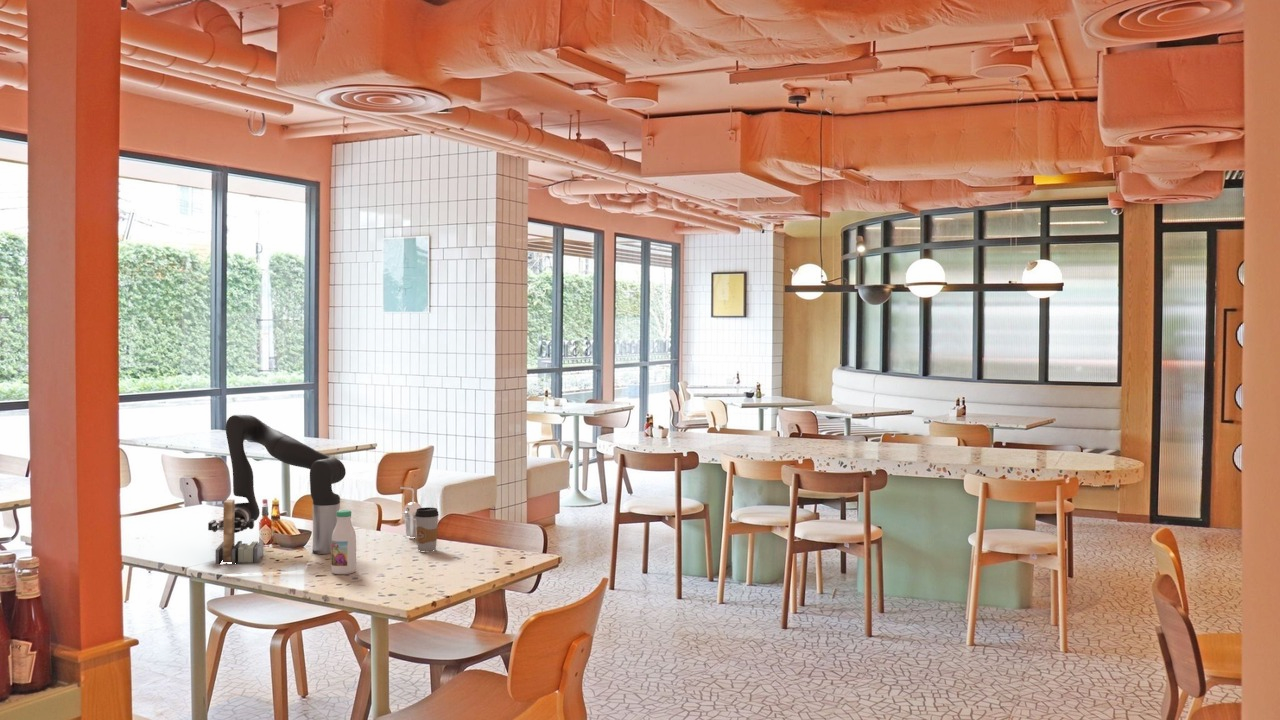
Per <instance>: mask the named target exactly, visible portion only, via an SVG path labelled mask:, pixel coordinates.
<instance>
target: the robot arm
mask: <svg viewBox="0 0 1280 720" xmlns="http://www.w3.org/2000/svg"><path fill="white" fill-rule="evenodd" d="M225 433H226V434H225V435H226V440H227V441H226V442H227V445H228V450H229V455H230V461H231V467H232V468H231V469H232V487H233V488H232V492H233V495H234V496H235V497H241V498H245V499H246V500H247V502H237V503H236V502H235V534H237V533H239V532H240V533H241V532H244V531H245V530H248V528H249V530H253V529H254V527H255V521H257V520H258V519H259V518H260V517H259V516H260V508H259V505H258V502H257V498H256V495H255V489H254V488H255V487H254V485H255V484H254V472H253V468H252V466H251V464H250V461H249V460H248V457H247V455H246V452H245V447H244V441H248V440H249V441H252V442H255V443H257V444H260V445H262V446H264V448H265V449H266V451H267V452H268V455H270V456H271V457H272V458H274V459H276V460H278V461H280V462H282V463H284V464H287V465H289V466H290V465H291V466H294V467H298V468H303V469H307V470H309V487H310V488H309V490H310V492H309V493H310V497H311V498H312V553H313V554H317V555H329V554H331V548H332V534H333V531H334V529H335V527H336V524H337V511H340V510H341V497H340V495H339V494H337V493H335V492H333V488H332V485H333V484H337V483H339V482H341V481H342V480H343V479H344V478H345V477H346V472H347V471H346V470H347V469H346V468H345V465H344V463H343V462H342V461H341V460H340V459H338V458H337V457H334V456H330V455H328V454H325V453H323V452H320V451H318V450H315V449H314V448H312V447H310V446H309V445H307V444H304V443H302V442H301V441H299V440H297V439H296V438H294V437H291V436H290V435H287V434H285V433H283V432H281V431H280V430H276V429H274V428H273V427H271V426H269V425H268V424H266V423H265V422H263V421H261V420H260V419H259V418H257V417H255V416H254V415H250V414H233V415H230V417H228V418H227V420H226V423H225ZM207 529H208V530H207V531H212V532H213V533H216V532H217V531H223V519H220V520H218V521H217V520H216V519H213V520H210V521H209V522H208V523H207Z"/></svg>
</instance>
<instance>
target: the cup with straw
mask: <svg viewBox="0 0 1280 720" xmlns="http://www.w3.org/2000/svg"><path fill="white" fill-rule="evenodd" d="M398 489H399V490H409V491H411V502H410V501H409V502H408V503H406V504H405V505H404V507H403V509H402V510H401V514H403V520H404V524H405V525H404V527H405V534H406V537H407V536H410V537H415V538H417V533H416V516H415V514H416V511H417V509H418V508H423V507H422V506H421V504H420V503H418V502H417V501H415V489H414V488H413V487H405V486H399V488H398ZM409 540H415V539H414V538H409Z"/></svg>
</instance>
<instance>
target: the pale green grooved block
mask: <svg viewBox="0 0 1280 720" xmlns="http://www.w3.org/2000/svg"><path fill="white" fill-rule="evenodd" d="M258 543H259V542H258V541H257V540H256V541H251V543H250V544H248V543H242V545H241V546H240V547H239V549H238V562H254V548H255V547H256V545H257V544H258Z"/></svg>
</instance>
